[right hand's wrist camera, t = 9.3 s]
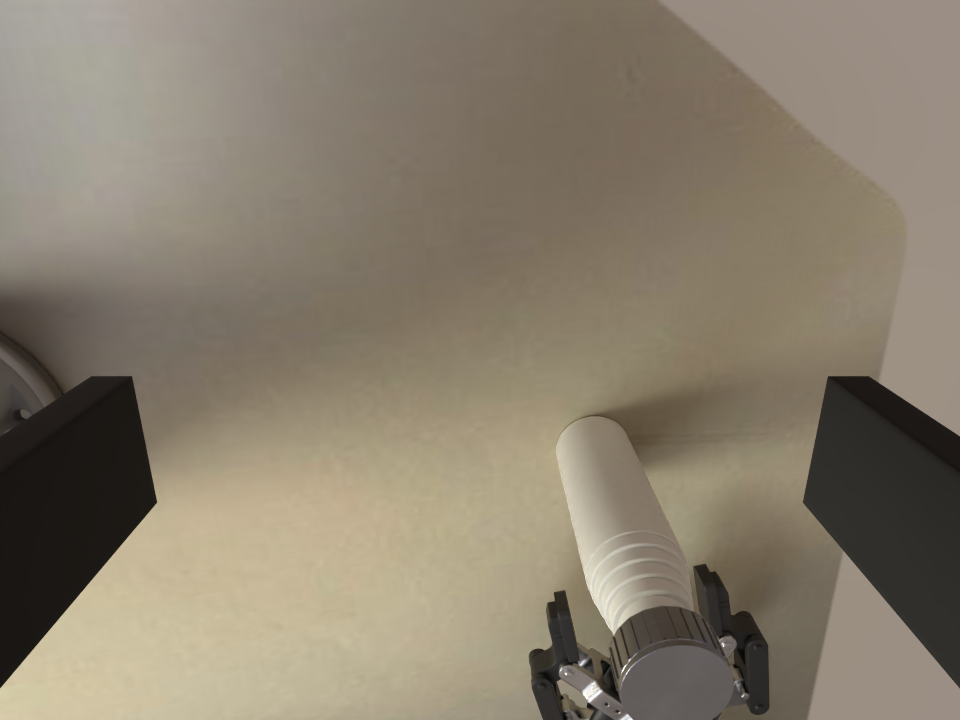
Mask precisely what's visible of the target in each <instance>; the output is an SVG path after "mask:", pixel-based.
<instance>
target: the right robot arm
mask: <svg viewBox="0 0 960 720" xmlns="http://www.w3.org/2000/svg"><path fill="white" fill-rule="evenodd" d="M156 503H157V500H156V495H155V490H154V485H153V480H152V475H151V470H150V464H149V459H148V454H147V449H146V444H145V439H144V434H143V429H142V424H141V419H140V414H139V409H138V404H137V399H136V394H135V389H134V384H133V379H132V376H91V377H90V378H88V379H87V380H85V381H84V382H82V383H81V384H79V385H77V386H76V387H74V388H73V389H71V390H70V391H68V392H67V393H65V394H64V395H62V393H61V392H60V390H59V388H58V387H57V385H56V384H55V382H54V381H53V380H52V378H51V377H50V376H49V375H48V373H47V372H46V371H45V370H44V369H43V367H42V366H41V365H40V364H39V363H38V362H37V361H36V360H35V359H34V358H33V357H31V356H30V355H29V354H28V353H27V352H26V351H25V350H23V349H22V348H21V347H19V346H18V345H17V344H15V343H14V342H13V341H11V340H10V339H8V338H6V337H5V336H3V335H2V334H0V688H1V687H2V685H3V684H4V683H5V682H6V681H7V680H8V678H9V677H10V676H11V675H12V674H13V672H14V671H15V670H16V669H17V668H18V667H19V665H20V664H21V663H22V662H23V661H24V659H25V658H26V657H27V656H28V655H29V654H30V652H31V651H32V650H33V649H34V648H35V646H36V645H37V644H38V643H39V642H40V640H41V639H42V638H43V637H44V636H45V635H46V633H47V632H48V631H49V630H50V629H51V627H52V626H53V625H54V624H55V623H56V622H57V620H58V619H59V618H60V617H61V616H62V614H63V613H64V612H65V611H66V610H67V609H68V607H69V606H70V605H71V604H72V603H73V601H74V600H75V599H76V598H77V597H78V595H79V594H80V593H81V592H82V591H83V590H84V588H85V587H86V586H87V585H88V584H89V582H90V581H91V580H92V579H93V578H94V577H95V575H96V574H97V573H98V572H99V571H100V569H101V568H102V567H103V566H104V565H105V564H106V562H107V561H108V560H109V559H110V558H111V556H112V555H113V554H114V553H115V552H116V551H117V549H118V548H119V547H120V546H121V545H122V543H123V542H124V541H125V540H126V539H127V537H128V536H129V535H130V534H131V533H132V532H133V530H134V529H135V528H136V527H137V526H138V524H139V523H140V522H141V521H142V520H143V519H144V517H145V516H146V515H147V514H148V513H149V511H150V510H151V509H152V508H153V507H154V506H155V504H156ZM803 503H804V504H805V506H806V507H807V508H808V509H809V510H810V511H811V513H812V514H813V515H814V516H815V517H816V519H817V520H818V521H819V522H820V523H821V524H822V526H823V527H824V528H825V529H826V530H827V532H828V533H829V534H830V535H831V536H832V537H833V539H834V540H835V541H836V542H837V543H838V545H839V546H840V547H841V548H842V549H843V551H844V552H845V553H846V554H847V555H848V556H849V558H850V559H851V560H852V561H853V562H854V564H855V565H856V566H857V567H858V568H859V569H860V571H861V572H862V573H863V574H864V575H865V577H866V578H867V579H868V580H869V581H870V582H871V584H872V585H873V586H874V587H875V588H876V590H877V591H878V592H879V593H880V594H881V595H882V597H883V598H884V599H885V600H886V601H887V603H888V604H889V605H890V606H891V607H892V608H893V610H894V611H895V612H896V613H897V614H898V616H899V617H900V618H901V619H902V620H903V622H904V623H905V624H906V625H907V626H908V627H909V629H910V630H911V631H912V632H913V633H914V635H915V636H916V637H917V638H918V639H919V640H920V642H921V643H922V644H923V645H924V646H925V648H926V649H927V650H928V651H929V652H930V653H931V655H932V656H933V657H934V658H935V659H936V661H937V662H938V663H939V664H940V665H941V667H942V668H943V669H944V670H945V671H946V672H947V674H948V675H949V676H950V677H951V678H952V680H953V681H954V682H955V683H956V684H957V685H958V687H959V688H960V436H958V435H957V434H955V433H954V432H952V431H951V430H949V429H948V428H946V427H945V426H943V425H942V424H940V423H939V422H937V421H936V420H934V419H933V418H931V417H930V416H928V415H927V414H925V413H923V412H922V411H920V410H919V409H917V408H916V407H914V406H913V405H911V404H910V403H908V402H907V401H905V400H904V399H902V398H901V397H899V396H898V395H896V394H895V393H893V392H892V391H890V390H889V389H887V388H885V387H884V386H883V385H881V384H879V383H878V382H876V381H875V380H873V379H872V378H870V377H869V376H828V379H827V384H826V389H825V394H824V399H823V404H822V409H821V414H820V419H819V424H818V429H817V434H816V439H815V444H814V449H813V454H812V459H811V465H810V470H809V475H808V480H807V485H806V490H805V495H804V500H803Z"/></svg>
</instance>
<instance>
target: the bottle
mask: <svg viewBox="0 0 960 720" xmlns="http://www.w3.org/2000/svg"><path fill="white" fill-rule="evenodd" d="M556 455H557V460H558V464H559V469H560V473H561V477H562V481H563V486H564V490H565V494H566V498H567V503H568V507H569V511H570V516H571V520H572V524H573V528H574V533H575V537H576V541H577V545H578V550H579V554H580V558H581V562H582V567H583V571H584V575H585V579H586V583H587V587H588V589H589V591H590V593H591V596H592V599H593V601H594V603H595V605H596V606H597V607H598V609H599V611H600V613H601V615H602V617H603V618H604V619H605V621H606V623H607V625H608V627H609V628H610V630H611V631H612V632H613V635H615V633H616V631H617V629H618V628H619V627H620V626H621V625H622V624H623V623H624V622H625V621H626V620H627V619H628V618H629V617H631V616H633V615H635V614H637V613H639V612H641V611H642V610H645V609H649V608H653V607H658V606H678V607H682V608H685V609H688V610H690V611H694V609H693V598H692V589H691V584H690V574H689V570H688V567H687V565H686V560H685V557H684V554H683V552H682V550H681V548H680V546H679V544H678V541H677V539H676V537H675V535H674V533H673V531H672V529H671V527H670V525H669V523H668V520H667V518H666V516H665V514H664V512H663V510H662V508H661V506H660V504H659V501H658V499H657V497H656V495H655V493H654V491H653V489H652V487H651V485H650V482H649V480H648V478H647V476H646V474H645V472H644V470H643V468H642V466H641V463H640V461H639V459H638V457H637V455H636V453H635V451H634V449H633V447H632V444H631V442H630V440H629V438H628V436H627V434H626V432H625V431H624V429H623V428H622V427H621V426H620V425H619V424H618V423H616V422H615V421H613V420H611V419H608V418H605V417H600V416H590V417H585V418H581V419H579V420H577V421H575V422H573V423H572V424H570V425H569V426H568V427H567V428H566V429H565V430H564V431H563V432H562V434H561V435H560V437H559V439H558V442H557V447H556Z"/></svg>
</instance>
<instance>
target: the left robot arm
mask: <svg viewBox="0 0 960 720" xmlns="http://www.w3.org/2000/svg"><path fill="white" fill-rule="evenodd" d="M693 569H694V576H695V583H696V590H697V597H698V604H699V611H700V613H701V615H702V618H703V617H704V618H705V620H706V622H707V623H708V624H709V625H710V626H712V627H713V629H714V631H715V634H716V636H717V638H718V640H719V642H720V644H721V647H722V649H723V651H724V653H725V655H726V657H727V659H728V657H729V656H730V655H731V653H732V652H733V651H734V662H735V664H730V666H731V667H730V669H731V672H732V674H733V679H734V688H733V693H732V697H731V699H730V701H729V703H728V704H727V706H733V705H741V704H747V705H748V707H749V709H750V711H751V713H753V714H755V715H761V714H764V713H765V712H767V711H768V709H769V667H768V644H767V642H766V641H765V639H764V637H763V635H762V633H761V632H760V630H759V628H758V626H757V624H756V623H755V621H754V619H753V617H752V615H751V614H750V613H749V612H746V611H741V612H738V613H736V614H735V615H734V616H733V615H731V612H730V604H729V596H728V592H727V590H726V588H725V586H724V584H723V583H722V581H721V579H720V577H719V576H718V574H717V573H716V571H714V572H710V571H709V570H708V568H707V566H706V564H702V565H697V566H693ZM554 597H555V601H554V602H548V604H547V608H546V612H547V619H548V626H549V630H550V634H551V639H552V643H553V645H552V646H551V647H550V648H549V649H547V650H543V649H534V650H532V651H531V652H530V654H529V663H530V666H531V675H532V679H531V684H532V690H533V693H534V695H535V698H536V701H537V704H538V707H539V709H540V712H541V715H542V718H543V720H633V719H632V718H631V717H630V716H629V715H628V714H627V712H626V711H625V709H624V708H623V706H622V703H621V701H620V698H619V694H618V690H616V686H615V681H614V677H613V673H612V669H611V665H610V661H609V659H608V658H607V657H605V656H604V655H602V654H601V653H599V652H598V651H596V650H595V649H593V648H591V649H590V650H587V649H586V648H585V647H583V646H582V645H580V644H579V643H577V642H576V637H575V632H574V627H573V623H572V619H571V614H570V610H569V606H568V601H567V597H566V593H565V590H564V591H558V592H554ZM560 679H562V680H564V681H565V682H567V683H568V684H570V685H571V686H573V687H574V688H576V689H577V690H579V691H580V692H582V694H583V695H584V697H585V699H586V700H587V701H588V703H587V708H580V707H578V706H576V704H575V703H574V701H573V700H571V699H569V696H568V695H567V694H563V695H561V693H560V690H559V687H558V684H557V681H558V680H560ZM720 714H721V713H720ZM720 714H719V715H718V716H716V717H715V718H714V719H712V720H718V718H719V716H720Z"/></svg>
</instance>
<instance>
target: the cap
mask: <svg viewBox="0 0 960 720" xmlns="http://www.w3.org/2000/svg"><path fill="white" fill-rule="evenodd" d="M609 652H610V658H609V661H610V665H611V669H612V673H613V677H614V681H615V686H616V690H618V694H619V698H620V701H621V703H622V706H623V708H624V709H625V711H626V712H627V714H628V715H629V716H630V717H631V718H632V719H633V720H712V719H714V718H715V717H716V716H718V715H719V714H720V713H721V712H722V711H723V710H724V708H725V707H726V706H727V704H728V703H729V701H730V699H731V697H732V693H733V688H734V679H733V674H732V672H731V669H730V667H731V666H730V664H729V662H728V660H727V657H726V655H725V653H724V651H723V649H722V647H721V644H720V642H719V640H718V638H717V636H716V634H715V631H714V629H713V627H712V626H710V625H709V624H708V623H707V622H706V620H705V618H704V617H703V618H702V617H701V616H700V615H698V614H697V613H695V612H694V611H690V610H688V609H685V608H682V607H678V606H658V607H653V608H649V609H645V610H642V611H641V612H639V613H637V614H635V615H633V616H631V617H629V618H628V619H627V620H626V621H625V622H624V623H623V624H622V625H621V626H620V627H619V628H618V629H617V631H616V633H615V635H614V636H613V637H612V641H611V646H610V647H609Z"/></svg>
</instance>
